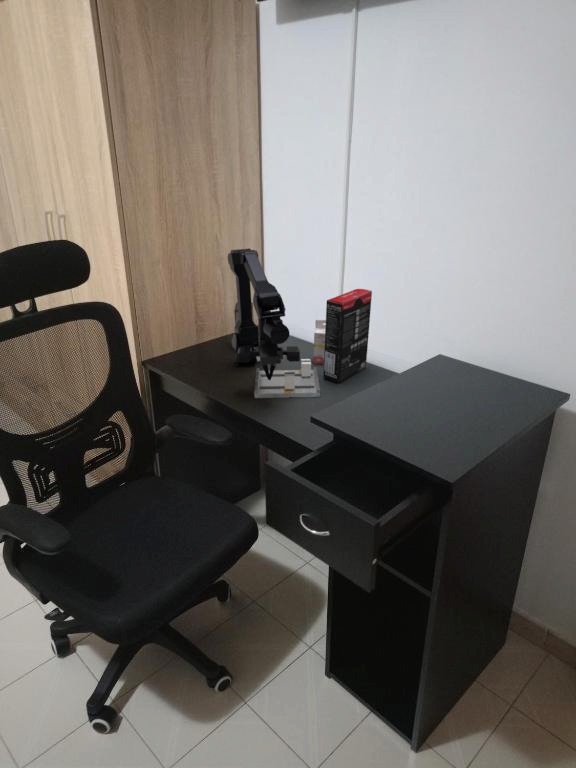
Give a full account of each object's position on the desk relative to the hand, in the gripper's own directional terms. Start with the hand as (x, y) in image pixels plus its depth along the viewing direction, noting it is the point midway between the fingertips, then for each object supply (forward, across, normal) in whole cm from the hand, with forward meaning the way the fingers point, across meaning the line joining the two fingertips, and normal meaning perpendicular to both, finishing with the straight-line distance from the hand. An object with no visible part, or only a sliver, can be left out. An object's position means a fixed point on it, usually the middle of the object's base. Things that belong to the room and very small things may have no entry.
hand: (269, 379), depth 169 cm
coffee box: (+5, -10, +38) cm, 40 cm away
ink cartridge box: (+5, +20, +23) cm, 31 cm away
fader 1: (+2, +6, 0) cm, 7 cm away
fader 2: (+2, +12, +9) cm, 15 cm away
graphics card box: (+5, +25, +13) cm, 29 cm away
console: (+4, +5, +4) cm, 8 cm away
